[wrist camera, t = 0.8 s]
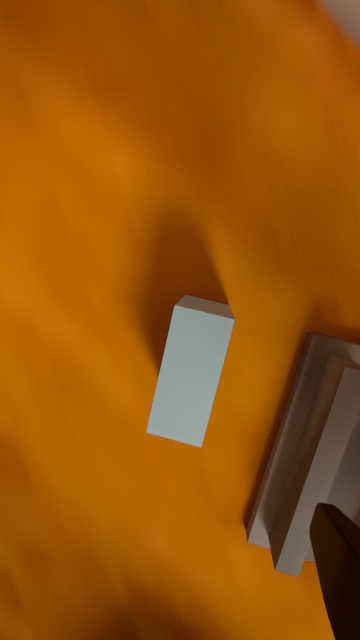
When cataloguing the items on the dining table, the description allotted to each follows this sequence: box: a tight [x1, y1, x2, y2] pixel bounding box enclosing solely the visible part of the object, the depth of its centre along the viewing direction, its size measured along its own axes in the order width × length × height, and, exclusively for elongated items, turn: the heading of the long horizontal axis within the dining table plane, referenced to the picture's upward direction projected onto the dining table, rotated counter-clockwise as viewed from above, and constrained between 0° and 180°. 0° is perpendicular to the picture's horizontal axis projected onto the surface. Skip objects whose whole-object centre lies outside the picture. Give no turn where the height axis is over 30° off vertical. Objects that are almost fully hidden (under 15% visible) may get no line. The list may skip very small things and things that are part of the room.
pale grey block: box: [146, 295, 235, 447], centre depth 18 cm, size 3×7×6 cm, turn 167°
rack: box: [246, 332, 360, 577], centre depth 19 cm, size 10×16×4 cm, turn 167°
